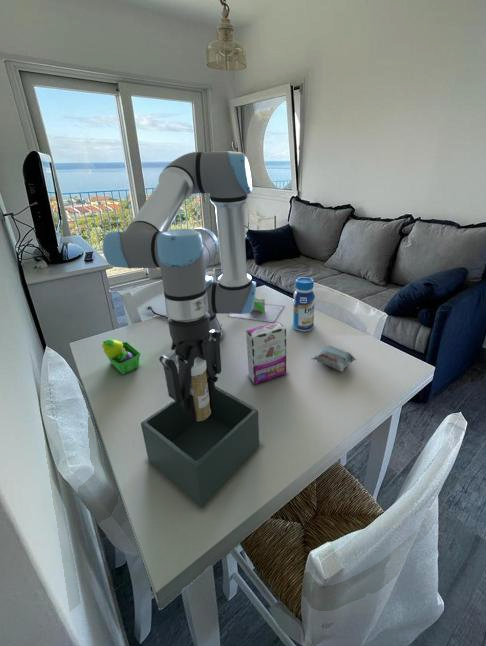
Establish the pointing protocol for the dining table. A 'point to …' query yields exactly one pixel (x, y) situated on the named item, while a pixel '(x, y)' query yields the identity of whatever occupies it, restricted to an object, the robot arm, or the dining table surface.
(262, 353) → the candy bar box
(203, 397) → the sprinkles bottle
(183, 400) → the robot arm
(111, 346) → the fruit basket
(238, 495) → the dining table surface
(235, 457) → the grey storage bin
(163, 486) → the dining table surface
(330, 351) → the packaged food
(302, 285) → the beverage bottle
